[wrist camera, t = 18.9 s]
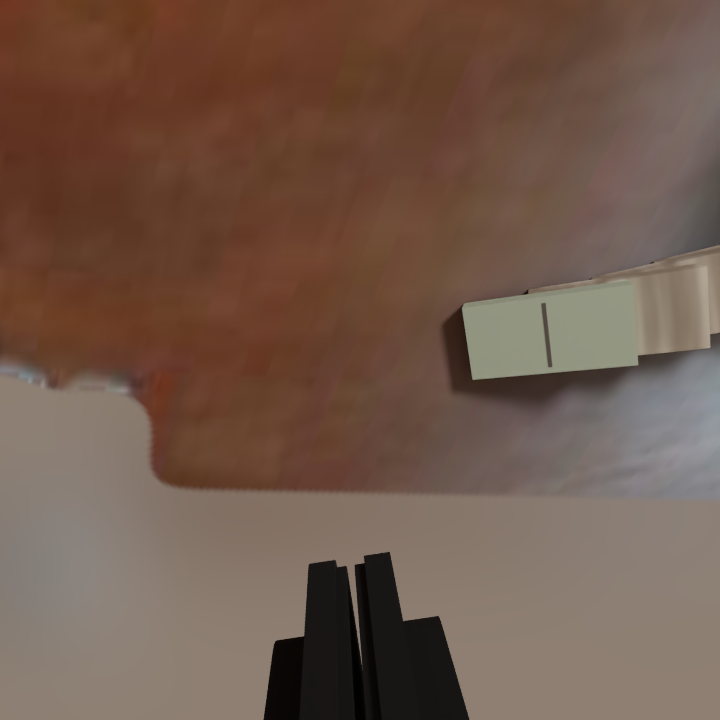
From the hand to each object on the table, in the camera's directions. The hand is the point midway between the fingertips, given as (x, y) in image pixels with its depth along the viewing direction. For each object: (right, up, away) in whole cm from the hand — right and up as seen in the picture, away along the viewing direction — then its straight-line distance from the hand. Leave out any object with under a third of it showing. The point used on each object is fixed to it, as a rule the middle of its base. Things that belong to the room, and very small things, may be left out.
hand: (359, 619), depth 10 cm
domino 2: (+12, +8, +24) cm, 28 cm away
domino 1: (+7, +7, +24) cm, 26 cm away
